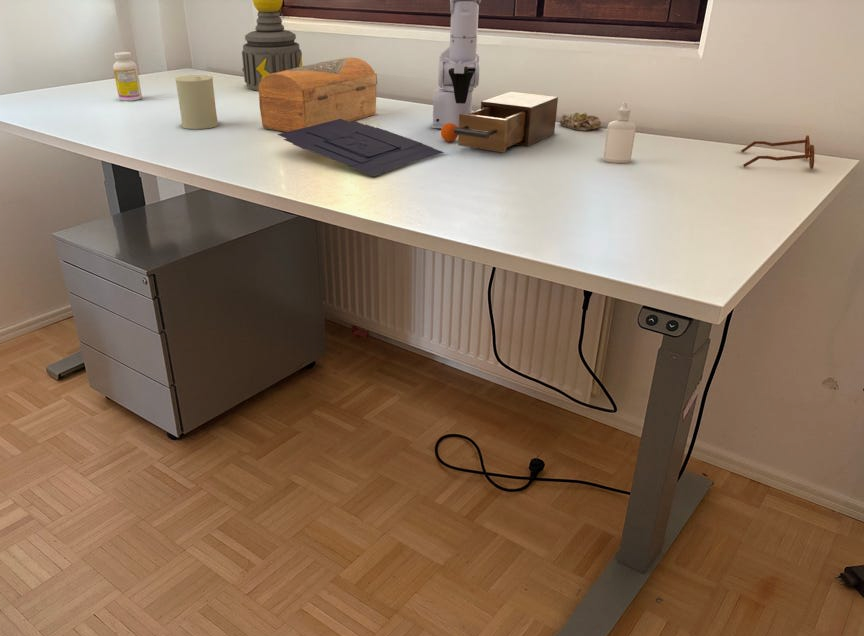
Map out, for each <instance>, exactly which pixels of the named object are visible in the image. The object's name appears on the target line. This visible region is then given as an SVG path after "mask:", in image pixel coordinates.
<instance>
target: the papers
mask: <svg viewBox="0 0 864 636" xmlns="http://www.w3.org/2000/svg"><path fill="white" fill-rule="evenodd" d="M276 135H277V136H279V137H282V138H283V140H284V141H285V142H288V143H290V144H292V145H293V146H295V147H297V148H301V149H303V150H307V151H309V152H312V153H315V154H316V155H319V156H322V157H325V158H326V159H327V158H328V159H330V160H333V161H335V162H337V163H339V164H342V165H345V166H347V167H349V168H351V169H352V170H353V169H354V170H356V171H359V172H361V173H364V174H366V175H369V176H372V177H375V176H379V175H381V174H384V173H386V172H389V171H393V170H395V169H397V168H400V167H403V166H405V165H408V164H411V163H414V162H417V161H421V160H425V159H427V158H431V157H435V156H437V155H441V154H444V153H445V151H442V150H439V149H437V148H434V147H432V146H429V145H427V144H424V143H423V142H420V141H418V140H414V139H411V138H409V137H407V136H403V135H399V134H398V133H394V132H391V131H389V130H386V129H383V128H380V127H377V126H376V127H375V126H372V125H369V124H364V123H361V122H358V121H356V120H355V121H352V122H348V121H346V120H343V119H337V120H333V121H329V122H326V123H322V124H318V125H314V126H310V127H306V128H302V129H297V130H293V131H289V132H285V131H284V132H281V133H277V134H276Z"/></svg>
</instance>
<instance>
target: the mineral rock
mask: <svg viewBox="0 0 864 636" xmlns="http://www.w3.org/2000/svg"><path fill="white" fill-rule="evenodd" d="M559 124H560V125H561V126H562V127H563V128H564V127H565V128H569V129H572V130H574V131H584V132H586V131H589V130H595V129H597V128H600V127H601V125H602V122H601V120H600V118H599V117H598V116H595V115H588V113H587V112H583V113H579V112H574V113H573V114H562V115H561V117H560V120H559Z"/></svg>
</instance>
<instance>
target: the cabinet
mask: <svg viewBox="0 0 864 636" xmlns="http://www.w3.org/2000/svg"><path fill="white" fill-rule="evenodd" d="M558 102H559V96H552V95H545V94H544V95H543V94H534V93H526V92H517V91H508V92H504V93H502V94H499V95H497V96H493V97H490V98H488V99H484V100H482V101H481V102H480V109H482V108H485V107H488V106H494V107H502V108H510V109H518V110H526V111H528V112H527V124H526V136H525V140H523V141H520V142H518V143H516V144H514V145H516V146H520V147H521V146H522V147H530V146H532V145H534V144H536V143H538V142H540V141H543V140H545V139H547V138H549V137H551V136H554V135H555V132H556V121H557V113H558Z"/></svg>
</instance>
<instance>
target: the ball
mask: <svg viewBox="0 0 864 636" xmlns="http://www.w3.org/2000/svg"><path fill="white" fill-rule="evenodd" d="M455 127H457V126H456V125H455V124H453V123H447V124H445V125H444V126H443V127H442V129H440V136H441V138H442V139H443V140H444V141H445V142H448V143H450V142H454V141H456V139H458V134H455V133H454V129H455Z"/></svg>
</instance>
